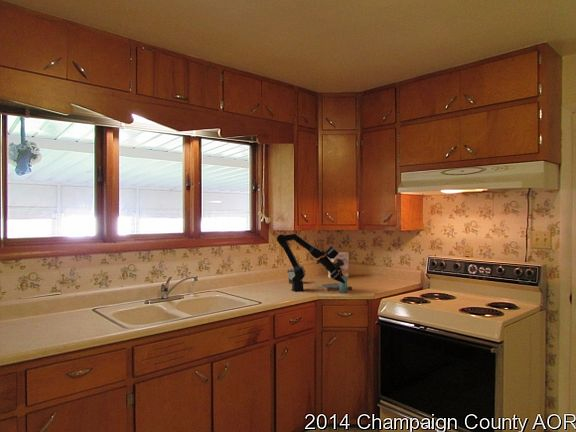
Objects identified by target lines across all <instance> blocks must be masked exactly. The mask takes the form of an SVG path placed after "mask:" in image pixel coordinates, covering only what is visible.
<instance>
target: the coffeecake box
mask: <svg viewBox="0 0 576 432" xmlns="http://www.w3.org/2000/svg"><path fill="white" fill-rule="evenodd" d="M338 252H339V251H338ZM349 255H350V254H349V252H345V251H342V252H339V254H338V255H337V256H336V257H335V258H334V259H330V258H329V259H330V260H331V261H332V262H334V263H336V262H338V260H339V259H341V260H343V262H344V265H343V266H340V267H341V268H342V274H343V275H344V276H347V279H348V278H349V276H350V275H349V273H350V272H349V271H350V270H349V263H350V262H349V257H350V256H349ZM340 270H341V269H340ZM327 271H328V270H327ZM330 275H331V274H330V272H329V271H328V275H327V276H328V278H329V279H332V278H331V277H330Z"/></svg>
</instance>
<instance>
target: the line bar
mask: <svg viewBox="0 0 576 432" xmlns="http://www.w3.org/2000/svg"><path fill="white" fill-rule="evenodd" d="M326 291H328V292H330V291H331V292H332V291H334V292H335V291H339V287H326ZM347 291H353V287H352V286H348V285H347Z"/></svg>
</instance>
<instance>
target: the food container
mask: <svg viewBox="0 0 576 432" xmlns="http://www.w3.org/2000/svg"><path fill="white" fill-rule="evenodd" d="M286 273H287V279H288V284H289V285H292V278H293V277H294V276H295V273H294V269H293V268H289V269H287V271H286ZM301 281H303V279H302V280H301Z"/></svg>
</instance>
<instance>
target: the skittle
mask: <svg viewBox="0 0 576 432" xmlns="http://www.w3.org/2000/svg"><path fill="white" fill-rule="evenodd" d="M341 277H342V278H343V280H344V281H345V283H341V282H339V281H338V282H339V283H338V284H339V293H340V294H348V290H347V287H348V278H347V276H341Z"/></svg>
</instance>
